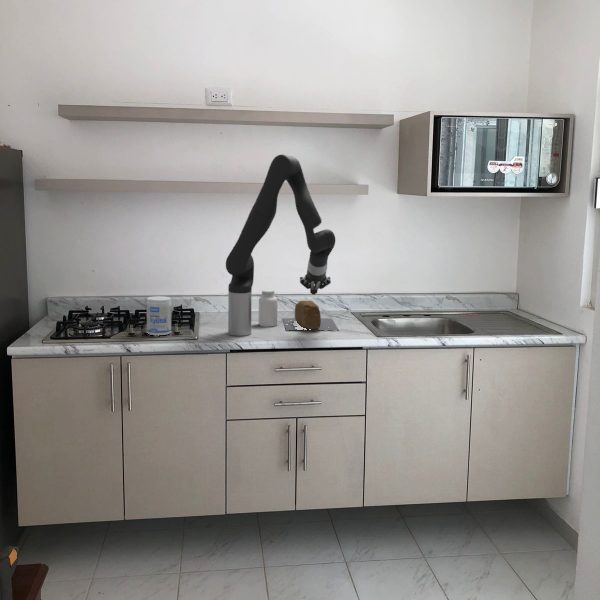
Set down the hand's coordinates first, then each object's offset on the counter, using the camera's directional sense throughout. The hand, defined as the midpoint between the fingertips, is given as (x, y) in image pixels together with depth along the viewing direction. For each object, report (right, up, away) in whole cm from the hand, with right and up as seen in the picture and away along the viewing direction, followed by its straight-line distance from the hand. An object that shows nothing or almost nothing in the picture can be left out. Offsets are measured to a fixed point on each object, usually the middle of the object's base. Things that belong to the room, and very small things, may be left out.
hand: (313, 292), depth 305 cm
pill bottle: (-19, -14, +12) cm, 27 cm away
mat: (-1, -13, +14) cm, 20 cm away
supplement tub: (-62, -17, -8) cm, 64 cm away
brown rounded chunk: (0, -10, 0) cm, 10 cm away
